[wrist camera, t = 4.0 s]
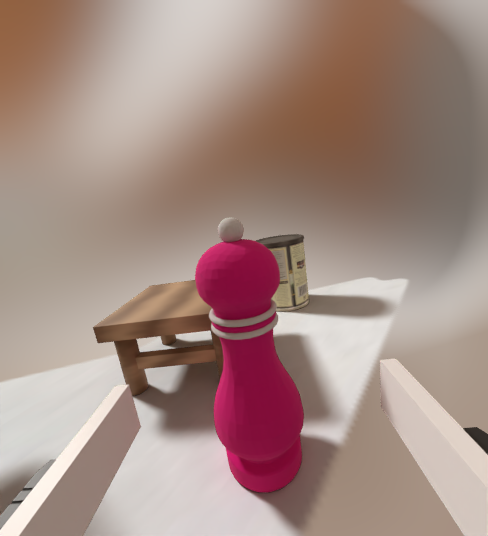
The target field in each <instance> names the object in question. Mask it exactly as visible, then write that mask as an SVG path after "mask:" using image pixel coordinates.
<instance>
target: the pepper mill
mask: <svg viewBox="0 0 488 536" xmlns="http://www.w3.org/2000/svg"><path fill="white" fill-rule="evenodd" d="M243 232H244V229H243V225H242V224H241V222H240V221H239V220H237V219H235V218H226V219H224V220H223V221H221V223H220V224H219V226H218V235H219V237H220V238H221V239H222V240H223V241H224V242H221V243H219V244H216V245H215V246H213V247H211V248H210V249H208V250H207V251H206V252H205V253H204V254H203V255H202V257H201V258H200V260H199V262H198V264H197V268H196V275H195V281H196V287H197V291H198V294H199V296H200V297H201V298H202V300H203V301H204V302H205V303H207V304H208V305H209V306H211V307H212V309H211V310H210V313H209V318H210V320H211V321H212V324H211V329H212V331H213V333H214V334H216V335H217V336H219V337H220V341H221V344H222V348H223V357H224V364H223V372H222V376H221V379H220V382H219V385H218V388H217V392H216V396H215V403H214V421H215V428H216V432H217V434H218V437H219V439H220V441H221V442H222V444H223V445H224V446H225V447H226V451H227V457H228V462H229V466H230V470H231V472H232V474H233V475H234V477H235V479H236V480H237V481H238V482H239V483H240V484H241V485H243V486H244V487H246V488H247V489H250V490H253V491H256V492H272V491H275V490H279V489H281V488H283V487H284V486H286V485H287V484H288V483H290V482H291V481H292V479H293V478H294V477H295V475H296V474H297V472H298V470H299V468H300V464H301V460H302V451H301V442H300V432H301V430H302V426H303V419H304V413H303V407H302V403H301V398H300V394H299V392H298V390H297V388H296V385H295V383H294V382H293V380H292V378H291V377H290V375H289V374H288V372H287V371H286V370H285V368H284V367H283V365H282V363H281V362H280V360H279V358H278V356H277V353H276V351H275V346H274V340H273V328H274V327H275V325H276V324H277V322H278V315H277V313H276V309H277V305H276V303H275V301H273V300H272V299H271V298H272V297H273V295H274V294H275V292H276V291H277V289H278V287H279V283H280V271H279V266H278V263H277V261H276V258H275V256H274V255H273V253H272V252H271V251H270V250H269V249H268V248H267V247H266V246H264V245H263V244H261V243H258V242H256V241H252V240H245V239H243V240H242V239H241V238H242V236H243Z"/></svg>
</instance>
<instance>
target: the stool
mask: <svg viewBox="0 0 488 536" xmlns="http://www.w3.org/2000/svg"><path fill="white" fill-rule="evenodd" d="M211 309H212V307H211V306H209V305H208V304H207V303H205V302H204V301H203V300H202V298H201V297H200V296H199V294H198V291H197V287H196V281H195V280H192V281H184V282H176V283H168V284H161V285H152V286H150V287H148V288H147V289H145V290H144V291H143V292H141V293H140V294H138V295H137V296H136V297H134V298H133V299H132V300H130V301H129V302H128V303H126V304H125V305H123V306H122V307H121V308H119V309H118V310H116V311H115V312H114V313H113V314H111V315H109V316H108V317H107V318H105V319H104V320H103V321H101V322H100V323H98V324H97V325H96V326H94V327H93V329H94V332H95V335H96V339H97V342H98V343H103V342H113V341H114V343H115V346H116V350H117V354H118V357H119V361H120V364H121V368H122V371H123V375H124V378H125V382H126V385H128V384H129V386H130V390H131V394H132V396H135V395H139V394H141V393H143V392H144V391H145V390H146V389H147V388H148V382H147V378H146V374H145V371H144V369H147V368H156V367H166V366H175V365H185V364H194V363H204V362H213V361H216V362H217V367H218V372H219V378H220V379H221V376H222V372H223V364H224V357H223V348H222V344H221V341H220V337H219V336H217V335H216V334H214V333H213V331H212V329H211V324H212V321H211V320H210V318H209V313H210V310H211ZM209 330H211V335H212V340H213V344H212V345H203V346H194V347H185V348H176V349H167V350H158V351H149V352H140V351H139V348H138V344H137V340H136V339H139V338H147V337H156V336H161V339H162V343H163V345H169V344H172V343H174V342H175V341H176V336H175V334H183V333H191V332H200V331H209Z"/></svg>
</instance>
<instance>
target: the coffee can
mask: <svg viewBox="0 0 488 536" xmlns="http://www.w3.org/2000/svg"><path fill="white" fill-rule="evenodd" d="M303 239H304V236H303V235H299V234H294V235H282V236H274V237H268V238H263V239H259V240H256V242H258V243H261V244H263V245H264V246H266V247H267V248H268V249H269V250H270V251H271V252H272V253H273V255H274V256H275V258H276V261H277V263H278V266H279V271H280V283H279V287H278V289H277V291H276V292H275V294H274V295H273V297H272V298H271V299H272V300H273V301H275V303H276V305H277V309H276V311H292V310H296V309H300V308H302V307H304V306H306V305H307V304H308V303H309V296H308V287H307V276H306V265H305V254H304V245H303Z"/></svg>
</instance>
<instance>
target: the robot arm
mask: <svg viewBox="0 0 488 536" xmlns="http://www.w3.org/2000/svg"><path fill="white" fill-rule="evenodd" d="M380 379H381V407H382V409H383V411H384V412H385V414H386V415H387V417H388V418H389V420H390V421H391V423H392V424H393V426H394V428H395V429H396V430H397V432H398V434H399V435H400V437H401V438H402V440H403V442H404V443H405V445H406V446H407V448H408V449H409V450H410V452H411V454H412V455H413V457H414V459H415V460H416V462H417V463H418V465H419V466H420V468H421V469H422V471H423V473H424V474H425V476H426V477H427V479H428V480H429V482H430V484H431V485H432V487H433V488H434V490H435V491H436V493H437V494H438V496H439V497H440V499H441V501H442V502H443V503H444V505H445V507H446V508H447V510H448V511H449V513H450V514H451V516H452V518H453V519H454V521H455V522H456V524H457V525H458V527H459V528H460V530H461V532H462V533H463V535H464V536H488V434H487V433H485V432H484V431H482V430H480V429H479V428H477V427H474V428H462V427H460V425H459V424H458V423H457V422H456V421H455V420H454V419H453V418H452V417H451V416H450V415H449V414H448V413H447V412H446V411H445V410H444V409H443V408H442V406H441V405H440V404H439V403H438V402H437V401H436V400H435V399H434V398H433V397H432V396H431V395H430V394H429V393H428V392H427V391H426V390H425V389H424V388H423V387H422V385H421V384H420V383H419V382H418V381H417V380H416V379H415V378H414V377H413V376H412V375H411V374H410V373H409V372H408V371H407V370H406V369H405V368H404V367H403V366H402V365H401V363H400V362H399V361H398V360H397V359H387V360H380ZM140 427H141V426H140V422H139V418H138V415H137V411H136V408H135V404H134V401H133V397H132V394H131V390H130V386H129V384H128V385H118V386H115V387H114V388H113V389H112V391H111V392H110V393H109V394H108V396H107V397H106V398H105V399H104V401H103V402H102V403H101V404H100V406H99V407H98V408H97V409H96V411H95V412H94V413H93V414H92V416H91V417H90V418H89V419H88V421H87V422H86V423H85V424H84V426H83V427H82V428H81V429H80V431H79V432H78V433H77V434H76V436H75V437H74V438H73V439H72V441H71V442H70V443H69V444H68V446H67V447H66V448H65V449H64V451H63V452H62V453H61V454H60V456H59V457H58V458H57V459H56V460H50V461H49V462H48V463H47V464H46V465H45V466H43V467H42V468H41V469H40V470H39V471H38V472H36V473H35V475H34V476H33V477H32V478H31V479H30V480H29V482H28V483H27V484H26V485H25V486H24V488H23V490H22V491H20V492H19V494H18V495H17V496H16V497H15V498H14V500H13V501H12V504H9V506H8V507H7V508H6V509H5V510H4V512H3V513H2V514H1V515H0V536H83V535H84V533H85V531H86V529H87V527H88V525H89V524H90V522H91V520H92V518H93V516H94V514H95V512H96V510H97V508H98V507H99V505H100V503H101V501H102V499H103V497H104V495H105V493H106V491H107V490H108V488H109V486H110V484H111V482H112V480H113V478H114V476H115V474H116V473H117V471H118V469H119V467H120V465H121V463H122V461H123V459H124V457H125V456H126V454H127V452H128V450H129V448H130V446H131V444H132V442H133V440H134V439H135V437H136V435H137V433H138V431H139V429H140Z"/></svg>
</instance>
